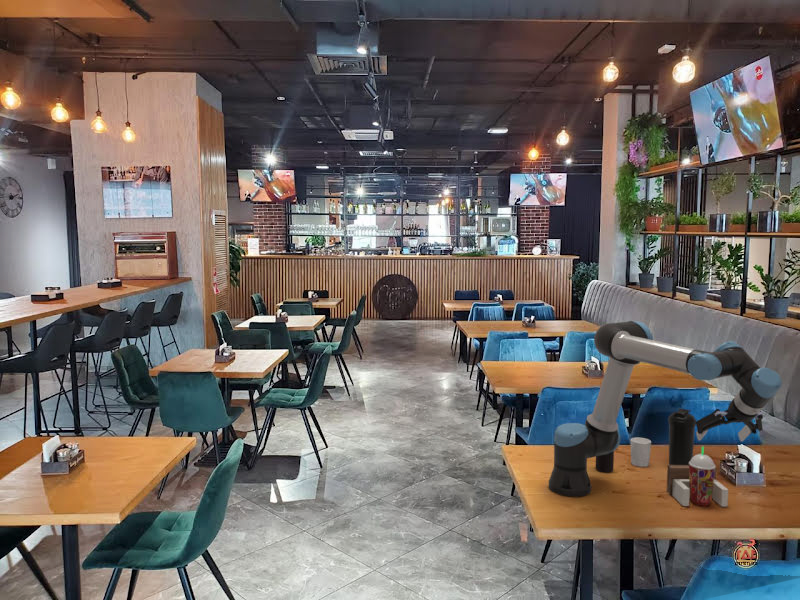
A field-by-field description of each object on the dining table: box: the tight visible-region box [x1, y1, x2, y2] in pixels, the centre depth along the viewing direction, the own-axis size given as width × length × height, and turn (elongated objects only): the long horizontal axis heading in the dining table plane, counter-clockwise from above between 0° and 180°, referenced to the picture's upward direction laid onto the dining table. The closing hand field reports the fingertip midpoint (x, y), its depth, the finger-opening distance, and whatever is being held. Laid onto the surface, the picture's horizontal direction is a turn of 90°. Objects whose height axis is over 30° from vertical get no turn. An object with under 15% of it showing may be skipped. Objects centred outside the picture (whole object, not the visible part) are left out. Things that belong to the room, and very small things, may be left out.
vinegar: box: [595, 451, 615, 474], centre depth 242 cm, size 7×7×20 cm
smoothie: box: [689, 446, 717, 507], centre depth 212 cm, size 8×8×20 cm
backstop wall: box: [666, 464, 717, 496], centre depth 220 cm, size 3×16×10 cm, turn 88°
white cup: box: [630, 437, 652, 468], centre depth 249 cm, size 8×8×10 cm
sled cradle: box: [671, 479, 729, 508], centre depth 213 cm, size 9×15×6 cm, turn 88°
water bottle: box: [667, 408, 697, 465], centre depth 246 cm, size 10×10×23 cm
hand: (719, 437), depth 199 cm, fingers open, 13 cm apart
